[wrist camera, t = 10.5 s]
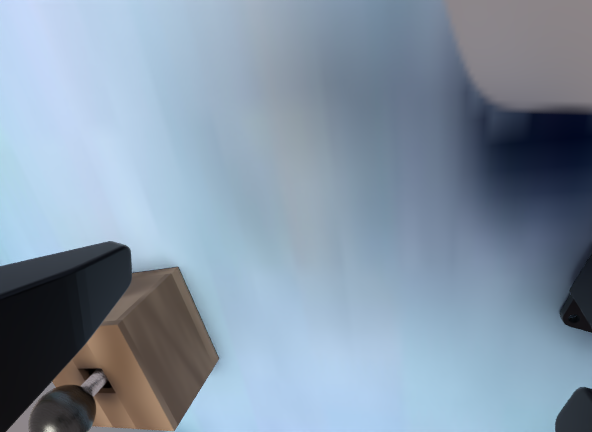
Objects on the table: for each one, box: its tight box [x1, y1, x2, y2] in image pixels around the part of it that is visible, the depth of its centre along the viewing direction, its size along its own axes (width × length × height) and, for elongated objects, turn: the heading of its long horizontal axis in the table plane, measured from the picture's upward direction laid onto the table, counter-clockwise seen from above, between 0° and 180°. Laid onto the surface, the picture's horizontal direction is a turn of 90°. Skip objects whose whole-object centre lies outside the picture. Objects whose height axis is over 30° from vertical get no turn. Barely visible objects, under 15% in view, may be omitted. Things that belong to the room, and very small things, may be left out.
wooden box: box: [52, 267, 219, 431], centre depth 26 cm, size 8×8×6 cm
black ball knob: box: [29, 368, 108, 432], centre depth 24 cm, size 6×6×9 cm
